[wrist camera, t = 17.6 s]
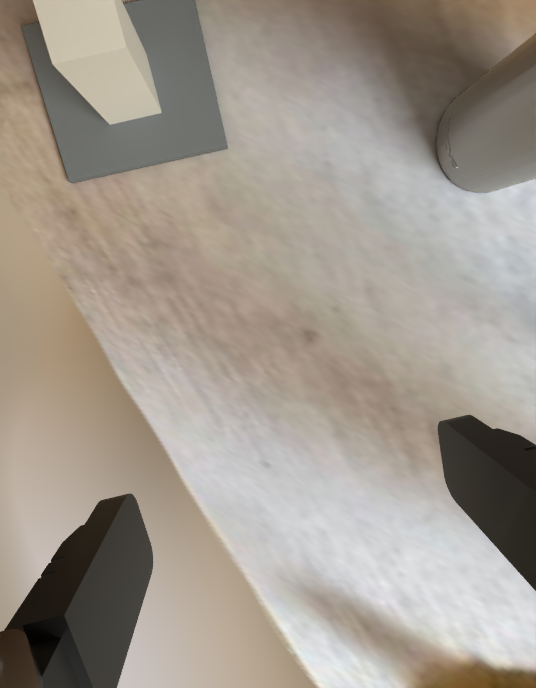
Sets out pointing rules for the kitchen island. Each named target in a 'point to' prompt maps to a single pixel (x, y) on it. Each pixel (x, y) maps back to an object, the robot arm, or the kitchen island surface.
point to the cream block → (100, 56)
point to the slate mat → (147, 132)
